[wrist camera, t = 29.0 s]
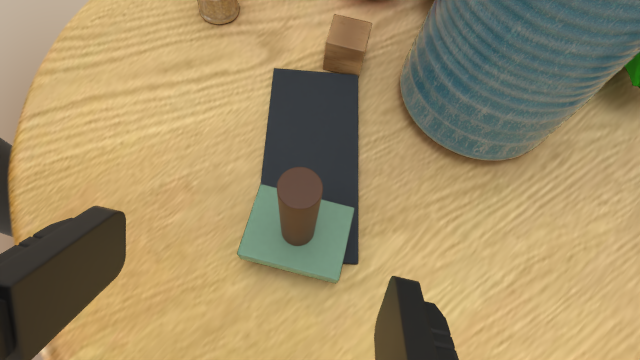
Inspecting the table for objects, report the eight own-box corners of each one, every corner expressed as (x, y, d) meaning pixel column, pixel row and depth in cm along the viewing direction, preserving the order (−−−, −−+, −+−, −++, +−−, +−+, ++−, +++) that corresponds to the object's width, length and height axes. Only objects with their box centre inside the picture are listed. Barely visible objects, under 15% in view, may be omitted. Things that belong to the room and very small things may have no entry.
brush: (241, 261, 30) (212, 219, 19) (263, 196, 33) (248, 125, 22) (334, 285, 30) (359, 257, 19) (349, 218, 32) (378, 158, 21)
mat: (252, 258, 31) (252, 257, 30) (274, 71, 39) (273, 67, 38) (357, 264, 31) (358, 263, 31) (357, 78, 39) (358, 74, 39)
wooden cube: (322, 69, 40) (325, 42, 36) (330, 42, 41) (334, 13, 37) (358, 78, 39) (365, 51, 36) (365, 50, 41) (372, 22, 37)
